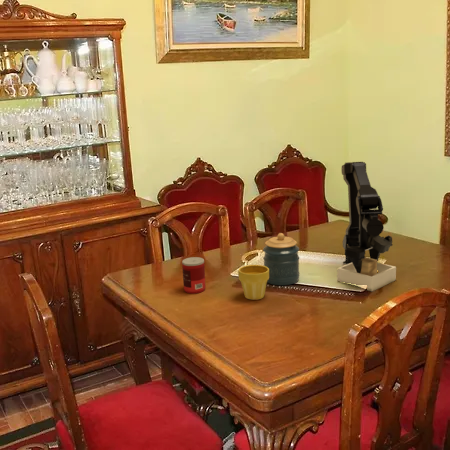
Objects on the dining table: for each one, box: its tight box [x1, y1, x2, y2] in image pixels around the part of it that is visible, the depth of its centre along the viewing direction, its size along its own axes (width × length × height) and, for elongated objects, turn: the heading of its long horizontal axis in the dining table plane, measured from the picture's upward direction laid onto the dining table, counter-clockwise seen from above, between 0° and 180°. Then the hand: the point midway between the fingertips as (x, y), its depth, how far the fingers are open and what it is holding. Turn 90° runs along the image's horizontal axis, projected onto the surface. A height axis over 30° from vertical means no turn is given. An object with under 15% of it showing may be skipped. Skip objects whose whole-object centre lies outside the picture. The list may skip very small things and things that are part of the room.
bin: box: [336, 261, 397, 292], centre depth 209 cm, size 15×15×5 cm
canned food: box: [181, 256, 206, 295], centre depth 206 cm, size 8×8×11 cm
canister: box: [262, 232, 300, 286], centre depth 212 cm, size 13×13×18 cm
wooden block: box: [360, 256, 378, 277], centre depth 208 cm, size 5×5×7 cm
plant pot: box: [237, 264, 269, 301], centre depth 198 cm, size 10×10×10 cm
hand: (366, 270), depth 208 cm, fingers open, 9 cm apart
